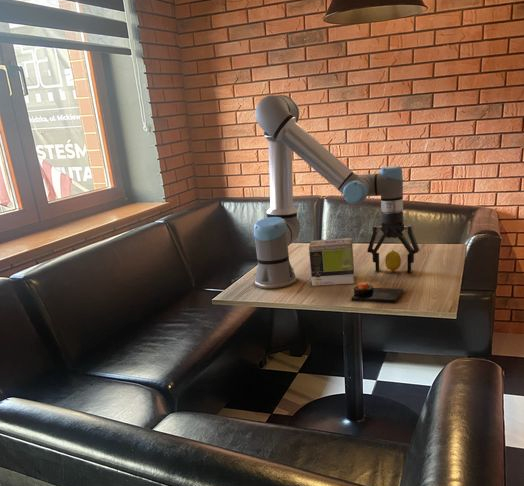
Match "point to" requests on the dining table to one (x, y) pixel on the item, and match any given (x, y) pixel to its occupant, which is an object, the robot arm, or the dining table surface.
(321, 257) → the tea box
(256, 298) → the dining table surface
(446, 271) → the dining table surface
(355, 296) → the scale
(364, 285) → the button
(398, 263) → the lemon
